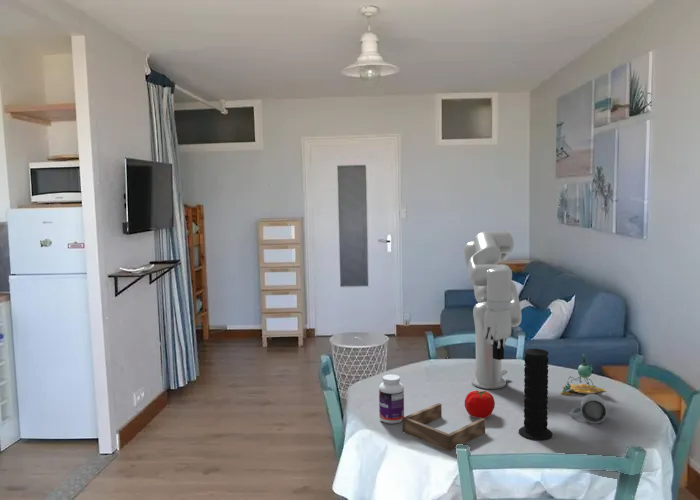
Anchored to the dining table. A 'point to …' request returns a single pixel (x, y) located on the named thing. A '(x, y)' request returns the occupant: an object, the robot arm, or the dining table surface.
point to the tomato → (479, 404)
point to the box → (446, 441)
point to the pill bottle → (391, 399)
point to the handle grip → (536, 396)
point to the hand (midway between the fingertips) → (498, 358)
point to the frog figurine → (584, 372)
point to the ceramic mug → (591, 409)
